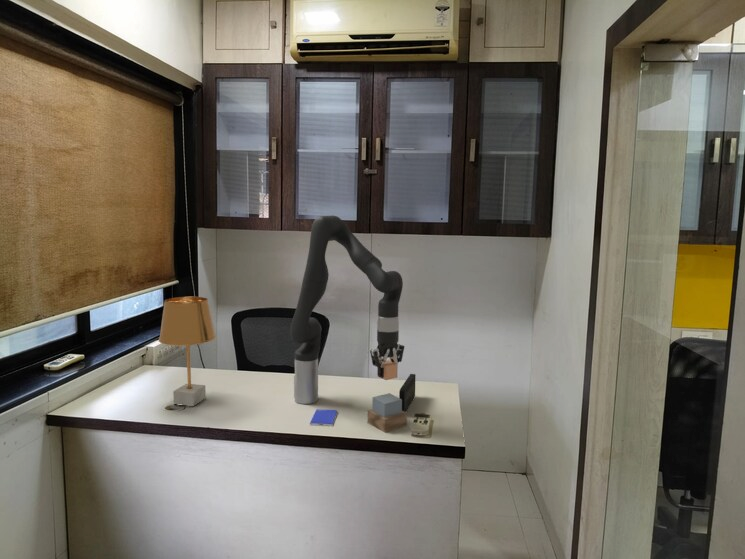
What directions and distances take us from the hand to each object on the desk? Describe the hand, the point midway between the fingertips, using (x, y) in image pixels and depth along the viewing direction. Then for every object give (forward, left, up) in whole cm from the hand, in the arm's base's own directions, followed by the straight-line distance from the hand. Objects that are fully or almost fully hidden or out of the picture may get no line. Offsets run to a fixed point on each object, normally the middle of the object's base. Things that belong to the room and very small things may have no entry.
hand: (387, 375), depth 181 cm
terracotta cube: (0, 0, 0) cm, 0 cm away
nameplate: (-9, +18, -18) cm, 27 cm away
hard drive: (-18, -15, -19) cm, 30 cm away
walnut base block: (0, 0, -18) cm, 18 cm away
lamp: (-62, -49, -18) cm, 81 cm away
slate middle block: (0, 0, -13) cm, 13 cm away
